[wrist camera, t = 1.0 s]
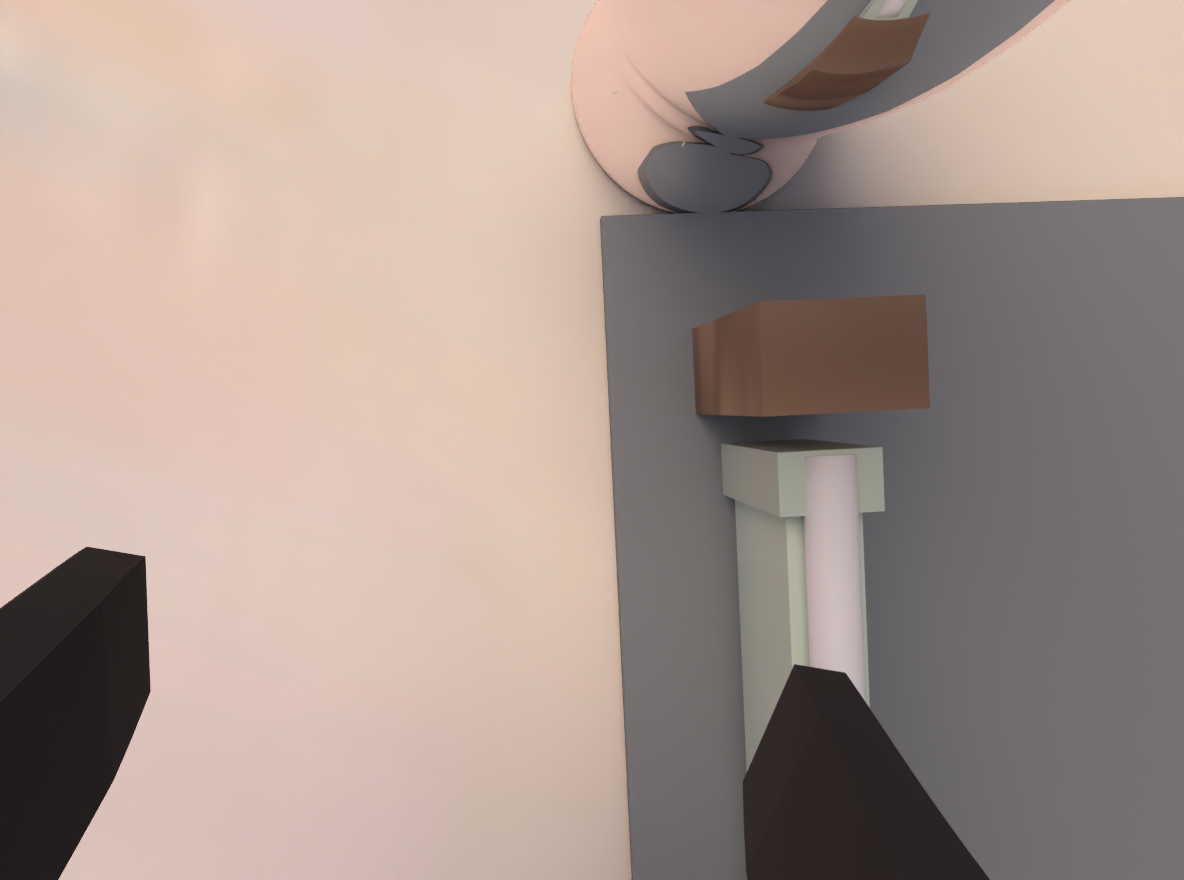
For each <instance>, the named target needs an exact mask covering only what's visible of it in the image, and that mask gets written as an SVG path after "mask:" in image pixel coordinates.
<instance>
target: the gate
mask: <svg viewBox="0 0 1184 880" xmlns="http://www.w3.org/2000/svg"><path fill="white" fill-rule="evenodd" d="M721 460H722V483H723V495H725V496H728V497H730V498H733V499H735V517H736V540H737V563H738V586H739V608H740V631H741V654H742V677H743V700H744V723H745V746H746V769H747V771H748V768H749V766H750V764H751V762H752V759H753V757H754V755H755V752H756V750H757V748H758V746H759V743H760V741H761V739H762V737H763V734H764V732H765V730H766V727H767V725H768V723H769V721H770V718H771V716H772V714H773V711H774V709H775V707H776V705H777V702H778V700H779V698H780V695H781V693H782V691H783V689H784V686H785V684H786V682H787V680H788V677H789V675H790V673H791V670H792V668H793V666H794V664H796V665H802V666H808V667H814V668H821V669H827V670H833V671H839V672H845V673H846V674H847V675H848V677H849V678H850V680H851V681H852V683H853V684H854V686H855V687H856V688H857V690H858V691H859V693H860V694H861V696H862V697H863V699H864V700H865V702H866V703H867V705H868V706H869V708H870V698H869V673H868V647H867V621H866V595H865V569H864V543H863V517H862V513H863V512H880V511H885V502H884V476H883V449H882V447H877V446H868V445H858V444H849V443H839V442H830V441H820V440H811V439H792V440H773V441H754V442H735V443H721Z"/></svg>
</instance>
